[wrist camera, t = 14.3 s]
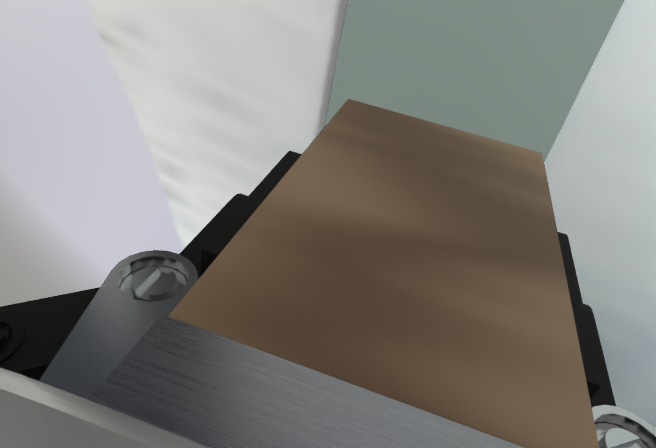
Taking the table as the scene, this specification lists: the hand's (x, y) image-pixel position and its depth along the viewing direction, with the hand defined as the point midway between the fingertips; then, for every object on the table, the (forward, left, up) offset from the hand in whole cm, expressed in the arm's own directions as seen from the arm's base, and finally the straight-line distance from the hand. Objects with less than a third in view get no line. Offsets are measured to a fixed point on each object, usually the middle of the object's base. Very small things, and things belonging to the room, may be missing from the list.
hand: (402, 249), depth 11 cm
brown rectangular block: (0, 0, -2) cm, 2 cm away
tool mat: (0, 0, -17) cm, 17 cm away
